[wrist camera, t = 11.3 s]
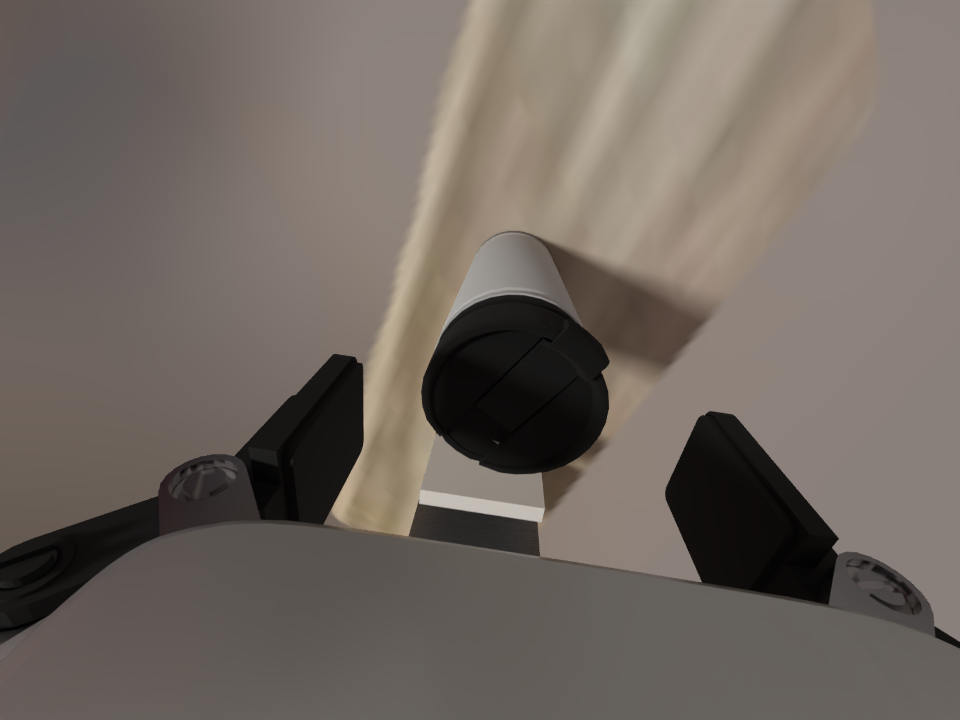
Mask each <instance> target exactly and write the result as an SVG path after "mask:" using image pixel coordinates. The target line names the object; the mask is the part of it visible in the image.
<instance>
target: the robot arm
mask: <svg viewBox="0 0 960 720" xmlns="http://www.w3.org/2000/svg"><path fill="white" fill-rule="evenodd" d="M363 440H364V428H363V365H362V363H357V359H356V358H355V357H352V356H345V355H339V354H334V355H332V356H331V357H330V358H329V360H328V361H327V362H326V363H325V364H324V365H323V366H322V367H321V368H320V369H319V370H318V372H317V373H316V374H315V375H314V376H313V377H312V378H311V379H310V380H309V381H308V382H307V383H306V384H305V386H304V387H303V388H302V389H301V390H300V391H299V392H298V393H297V394H296V395H293V396H291V397H290V398H289V399H288V400H287V401H286V402H285V403H284V404H283V405H282V406H281V407H280V408H279V409H278V410H277V411H276V412H275V413H274V414H273V415H272V417H271V418H270V419H269V420H268V421H267V422H266V423H265V424H264V425H263V426H262V427H261V428H260V429H259V430H258V431H257V433H256V434H255V435H254V436H253V437H252V438H251V439H250V440H249V441H248V442H247V443H246V444H245V445H244V446H243V447H242V449H240V451H239V452H238V453H237V454H236V455H235V456H231V455H227V454H211V455H206V456H200V457H197V458H194V459H192V460H189V461H187V462H185V463H183V464H181V465H179V466H178V467H176V468H174V469H173V470H172V471H171V472H169V473H168V474H167V475H166V476H165V478H164V479H163V480H162V482H161V483H160V486H159V491H158V496H157V497H154V498H151V499H148V500H145V501H142V502H139V503H136V504H133V505H130V506H127V507H124V508H122V509H119V510H116V511H113V512H110V513H107V514H104V515H101V516H98V517H95V518H92V519H89V520H86V521H83V522H80V523H78V524H74V525H71V526H68V527H65V528H62V529H59V530H56V531H54V532H51V533H48V534H45V535H42V536H39V537H36V538H33V539H30V540H28V541H25V542H23V543H21V544H18V545H16V546H13V547H11V548H10V549H8V550H6V551H4V552H3V553H1V554H0V720H960V642H959V641H957V640H956V639H954V638H953V637H951V636H949V635H948V634H946V633H945V632H943V631H941V630H940V629H938V628H936V627H935V626H934V616H933V612H932V609H931V606H930V604H929V602H928V601H927V599H926V598H925V597H924V595H923V594H922V593H921V592H920V591H919V590H918V589H917V588H916V587H915V586H914V585H913V584H912V583H911V582H910V581H909V580H907V579H906V578H905V577H904V576H902V575H901V574H900V573H898V572H897V571H896V570H894V569H892V568H891V567H889V566H887V565H886V564H884V563H882V562H880V561H878V560H876V559H874V558H872V557H870V556H866V555H863V554H860V553H857V552H844V553H841V554H839V555H837V553H836V552H835V551H834V550H833V548H832V547H833V545H834V544H835V543H836V541H837V540H838V539H839V538H838V537H837V536H836V535H835V533H834V532H833V531H832V530H831V529H830V528H829V526H828V525H827V524H826V523H825V522H824V520H823V519H822V518H821V517H820V516H819V515H818V514H817V512H816V511H815V510H814V509H813V508H812V506H811V505H810V504H809V503H808V502H807V500H806V499H805V498H804V497H803V496H802V495H801V493H800V492H799V491H798V490H797V489H796V487H795V486H794V485H793V484H792V483H791V481H790V480H789V479H788V478H787V477H786V476H785V474H784V473H783V472H782V471H781V470H780V469H779V467H778V466H777V465H776V464H775V463H774V461H773V460H772V459H771V458H770V457H769V455H768V454H767V453H766V452H765V451H764V450H763V448H762V447H761V446H760V445H759V444H758V442H757V441H756V440H755V439H754V438H753V437H752V435H751V434H750V433H749V432H748V431H747V430H746V428H745V427H744V426H743V425H742V424H741V423H740V421H739V420H738V419H737V418H736V417H735V416H734V415H732V414H726V413H719V412H712V411H710V412H708V413H706V414H705V416H704V415H702V416H700V417H699V418H698V420H697V422H696V424H695V426H694V429H693V431H692V433H691V435H690V437H689V439H688V441H687V444H686V446H685V448H684V450H683V452H682V454H681V457H680V459H679V461H678V463H677V465H676V467H675V469H674V472H673V474H672V476H671V478H670V480H669V482H668V485H667V487H666V491H665V497H666V501H667V503H668V505H669V508H670V510H671V512H672V515H673V517H674V519H675V522H676V524H677V526H678V528H679V531H680V533H681V535H682V538H683V540H684V542H685V544H686V546H687V549H688V551H689V553H690V556H691V558H692V560H693V563H694V565H695V567H696V569H697V572H698V574H699V576H700V579H701V581H702V582H695V581H689V580H683V579H677V578H671V577H664V576H658V575H653V574H647V573H640V572H634V571H628V570H622V569H615V568H609V567H602V566H597V565H590V564H584V563H578V562H571V561H565V560H558V559H552V558H545V557H539V556H533V555H527V554H520V553H514V552H508V551H501V550H495V549H488V548H481V547H475V546H468V545H462V544H455V543H448V542H442V541H435V540H429V539H422V538H415V537H409V536H402V535H396V534H389V533H382V532H375V531H368V530H361V529H355V528H348V527H339V526H330V525H323V524H324V522H325V520H326V518H327V516H328V514H329V512H330V510H331V509H332V507H333V505H334V503H335V501H336V499H337V497H338V495H339V493H340V491H341V489H342V488H343V486H344V484H345V482H346V480H347V478H348V476H349V474H350V472H351V470H352V468H353V467H354V465H355V463H356V461H357V459H358V457H359V455H360V453H361V450H362V447H363Z"/></svg>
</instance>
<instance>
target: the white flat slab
mask: <svg viewBox="0 0 960 720" xmlns="http://www.w3.org/2000/svg"><path fill="white" fill-rule="evenodd" d="M419 504H425V505H431V506H438V507H445V508H451V509H458V510H464V511H471V512H477V513H484V514H490V515H497V516H503V517H510V518H516V519H523V520H529V521H536V522H542V518H543V514H544V511H545V503H544V493H543V483H542V473H536V474H518V475H516V474H507V473H499V472H497V471H494V470H491V469H489V468H486V467H483V466H480V465H479V461H477V460H472V459H469V458H467V457H466V456H464V455H462V454H461V453H459V452H457V451H456V450H455V449H454V448H452V447H451V446H450V445H449V444H448V443H447V442H445V440H444V439H443V437H442V436H439V435H438V434H437V433H436V437H435V440H434V444H433V447H432V451H431V454H430V458H429V461H428V465H427V468H426V472H425V475H424V479H423V482H422V485H421V489H420V499H419Z"/></svg>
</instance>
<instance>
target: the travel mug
mask: <svg viewBox="0 0 960 720" xmlns="http://www.w3.org/2000/svg"><path fill="white" fill-rule="evenodd" d="M608 364H609V359H608V357H607V355H606V352H605V351H604V349H603V347H602V345H601V344H600V343H599V342H598V341H597V340H596V339H595V338H594V337H593V336H592V335H591V334H590V333H589V332H588V331H586V330H585V329H584V327H583V325H582V323H581V321H580V319H579V316H578V314H577V312H576V310H575V308H574V305H573V303H572V301H571V299H570V296H569V294H568V292H567V290H566V288H565V285H564V283H563V281H562V279H561V277H560V274H559V272H558V270H557V268H556V266H555V263H554V261H553V259H552V257H551V255H550V253H549V251H548V249H547V248H546V246H545V245H544V244H543V243H542V242H541V241H540V240H538V239H537V238H536V237H534V236H532V235H530V234H528V233H525V232H521V231H507V232H502V233H499V234H497V235H494V236H493V237H491V238H489V239H488V240H487V241H486V242H485V243H484V244H483V245H482V246H481V247H480V248H479V250H478V251H477V253H476V255H475V257H474V259H473V262H472V264H471V266H470V268H469V271H468V273H467V275H466V277H465V280H464V282H463V284H462V286H461V289H460V291H459V293H458V295H457V298H456V300H455V302H454V304H453V307H452V309H451V311H450V313H449V316H448V318H447V320H446V322H445V325H444V327H443V329H442V331H441V334H440V336H439V339H438V341H437V343H436V346H435V351H434V354H433V356H432V358H431V360H430V363H429V365H428V368H427V370H426V372H425V375H424V377H423V384H422V390H421V394H422V406H423V409H424V412H425V415H426V419H427V421H428V422H429V423H430V425H431V426H432V427H433V429H434V430H435V431H436V432H437V434H438V435H439V436H442V437H443V439H444V440H445V442H447V443H448V444H449V445H450V446H451V447H452V448H454V449H455V450H456V451H457V452H459V453H461V454H462V455H464V456H466V457H467V458H469V459H472V460H477V461H479V465H480V466H483V467H486V468H489V469H491V470H494V471H497V472H499V473H507V474H516V475H518V474H536V473H541V472H547V471H551V470H553V469H556V468H559V467H562V466H565V465H566V464H568V463H570V462H572V461H574V460H575V459H577V458H579V457H580V456H581V455H582V454H583V453H585V452H586V451H587V450H588V449H589V448H590V447H591V446H592V445H593V444H594V442H595V441H596V440H597V439H598V437H599V436H600V434H601V432H602V430H603V427H604V425H605V423H606V419H607V415H608V410H609V398H608V390H607V386H606V383H605V380H604V377H603V375H602V373H601V371H603V370H604V369H605V368H606V367H607V366H608Z"/></svg>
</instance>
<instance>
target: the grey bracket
mask: <svg viewBox="0 0 960 720" xmlns="http://www.w3.org/2000/svg"><path fill="white" fill-rule="evenodd" d="M436 433H437V432H436ZM419 499H420V498H419ZM409 537H415V538H422V539H429V540H435V541H442V542H448V543H455V544H462V545H468V546H475V547H481V548H488V549H495V550H501V551H508V552H514V553H520V554H527V555H533V556H539V557H540V552H539V538H538V524H537V522H536V521H529V520H523V519H516V518H510V517H503V516H497V515H490V514H484V513H477V512H471V511H464V510H458V509H451V508H445V507H438V506H431V505H425V504H419V502H418V505H417V509H416V512H415V516H414V519H413V523H412V526H411V530H410V533H409Z"/></svg>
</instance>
